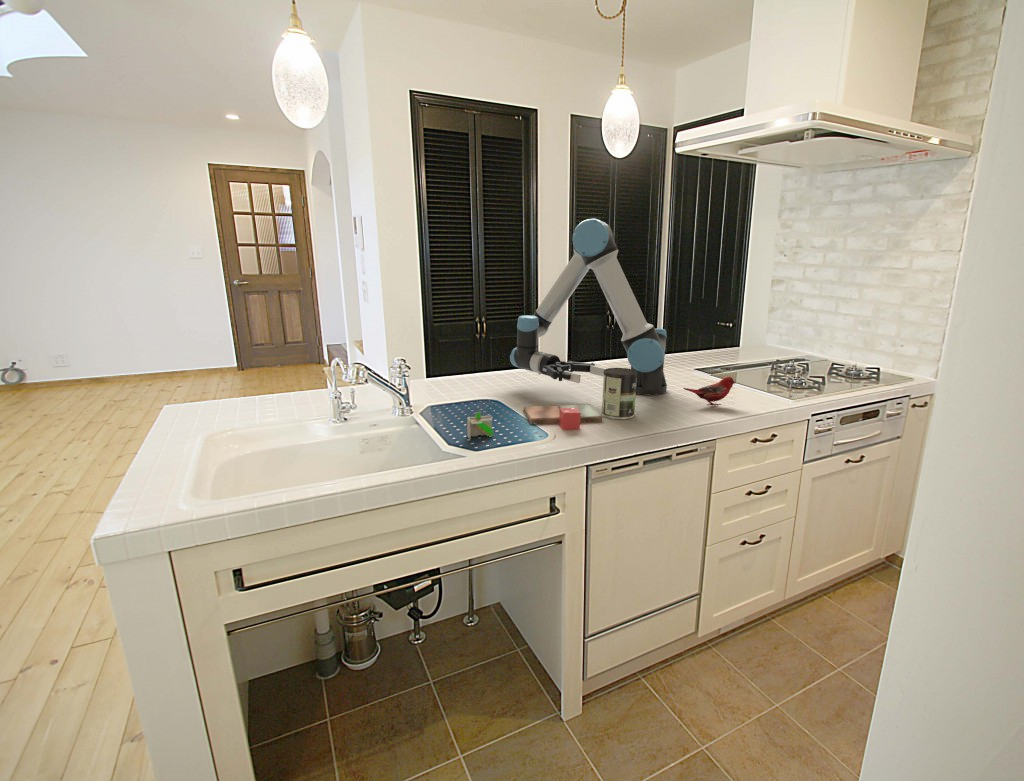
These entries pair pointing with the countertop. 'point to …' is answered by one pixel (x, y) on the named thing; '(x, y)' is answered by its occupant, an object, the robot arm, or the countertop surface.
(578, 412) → the red cube
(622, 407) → the coffee can
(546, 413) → the green brown wooden board
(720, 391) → the decorative bird figurine
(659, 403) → the countertop surface
